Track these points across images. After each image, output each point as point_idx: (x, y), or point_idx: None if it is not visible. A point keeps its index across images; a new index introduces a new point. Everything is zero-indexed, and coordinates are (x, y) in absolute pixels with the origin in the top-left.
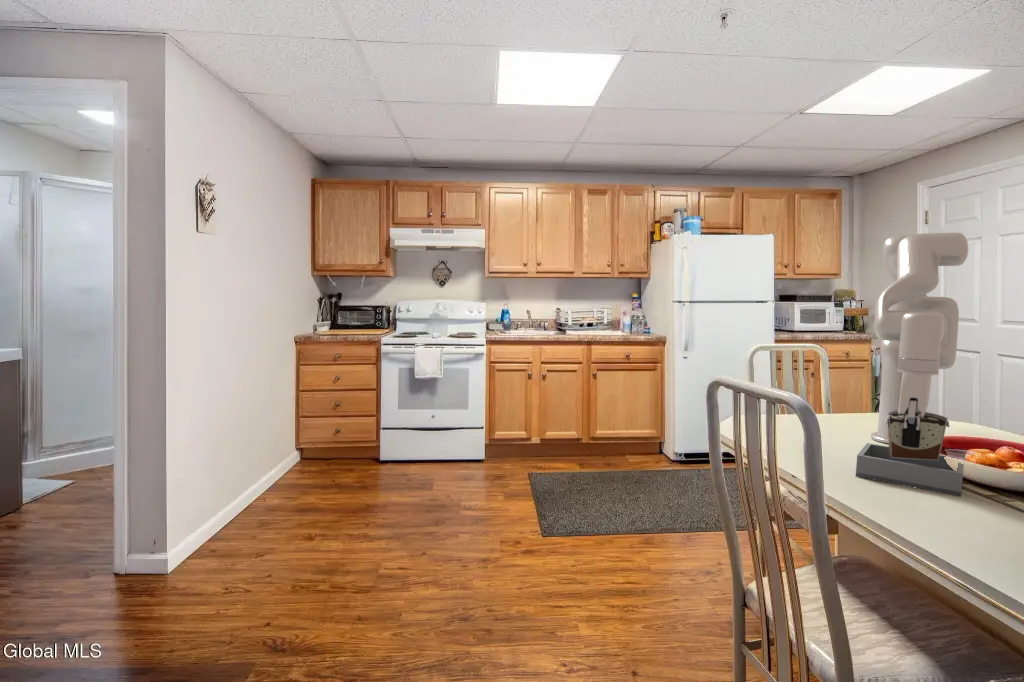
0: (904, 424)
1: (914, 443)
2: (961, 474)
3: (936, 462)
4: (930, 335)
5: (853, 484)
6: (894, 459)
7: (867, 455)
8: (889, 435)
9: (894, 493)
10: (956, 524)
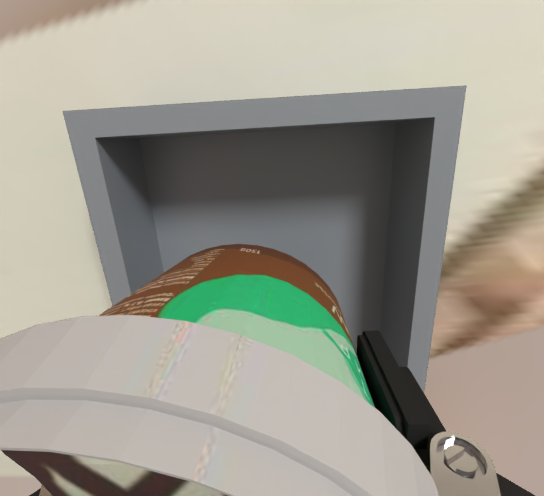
0: (43, 490)
1: None
2: None
3: None
4: None
5: (3, 139)
6: (396, 226)
7: (293, 127)
8: (120, 303)
9: (37, 266)
10: None
